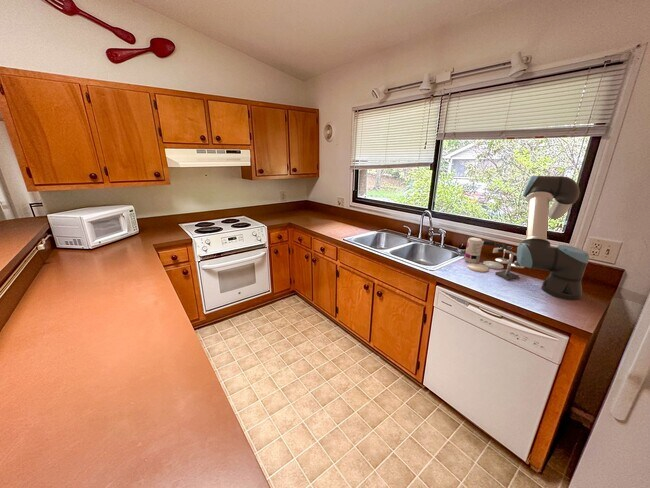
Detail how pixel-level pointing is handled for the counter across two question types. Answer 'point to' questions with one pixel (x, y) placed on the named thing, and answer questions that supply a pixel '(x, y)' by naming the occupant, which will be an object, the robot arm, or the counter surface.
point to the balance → (508, 267)
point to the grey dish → (493, 265)
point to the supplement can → (473, 250)
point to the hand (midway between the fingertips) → (484, 247)
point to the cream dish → (478, 267)
